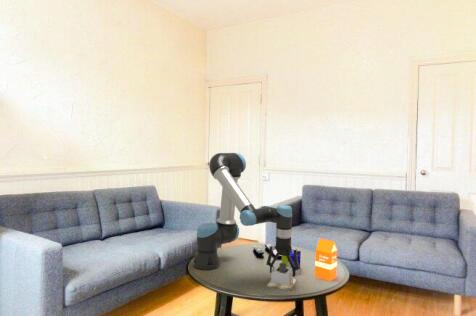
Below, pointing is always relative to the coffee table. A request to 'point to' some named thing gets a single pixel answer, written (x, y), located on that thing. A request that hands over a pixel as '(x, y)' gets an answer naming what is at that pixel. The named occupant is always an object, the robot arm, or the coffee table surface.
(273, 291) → the coffee table surface
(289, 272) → the frame
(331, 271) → the orange juice
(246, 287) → the coffee table surface
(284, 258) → the puzzle toy
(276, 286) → the shaft block
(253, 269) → the coffee table surface
